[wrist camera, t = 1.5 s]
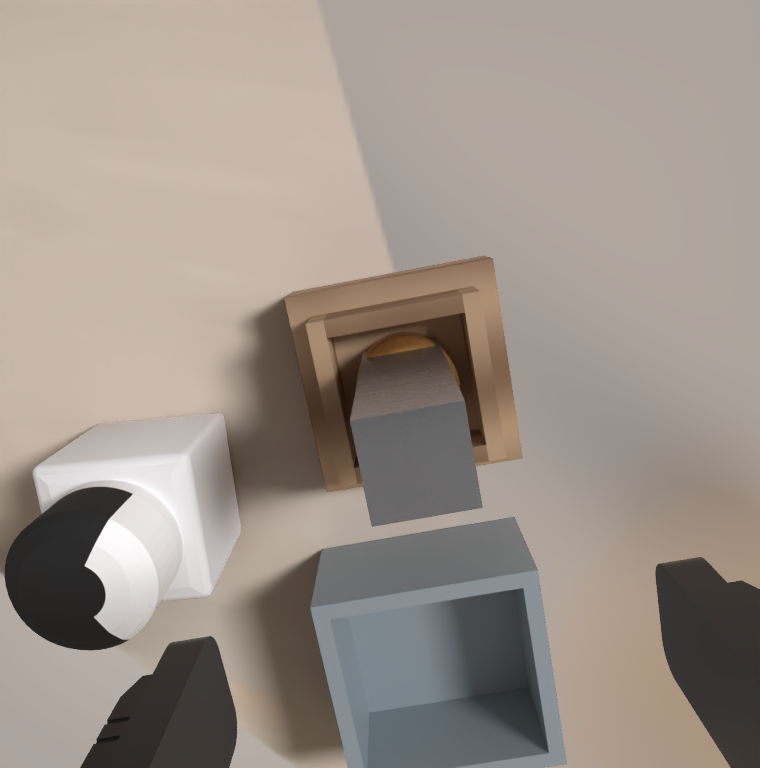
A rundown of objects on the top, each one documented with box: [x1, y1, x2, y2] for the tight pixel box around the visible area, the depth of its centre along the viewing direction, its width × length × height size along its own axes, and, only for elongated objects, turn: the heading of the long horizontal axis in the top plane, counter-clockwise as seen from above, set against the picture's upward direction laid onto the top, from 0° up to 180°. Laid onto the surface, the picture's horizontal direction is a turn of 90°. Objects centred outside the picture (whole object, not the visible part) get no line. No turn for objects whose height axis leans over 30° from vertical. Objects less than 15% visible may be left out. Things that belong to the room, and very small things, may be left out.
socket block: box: [284, 256, 523, 492], centre depth 33 cm, size 10×10×6 cm
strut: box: [350, 331, 482, 527], centre depth 27 cm, size 5×5×12 cm
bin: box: [310, 517, 567, 768], centre depth 36 cm, size 11×11×6 cm
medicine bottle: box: [5, 413, 241, 650], centre depth 32 cm, size 7×7×12 cm
